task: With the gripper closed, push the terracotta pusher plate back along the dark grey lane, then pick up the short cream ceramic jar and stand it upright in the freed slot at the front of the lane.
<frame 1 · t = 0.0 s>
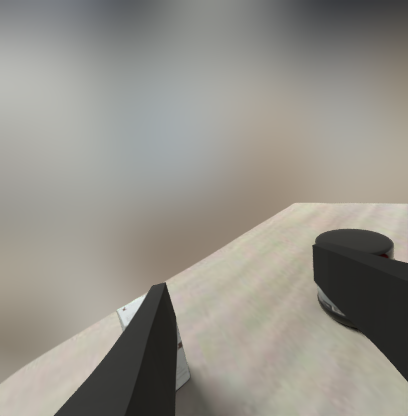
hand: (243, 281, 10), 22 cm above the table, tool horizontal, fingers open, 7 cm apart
skincare box: (166, 381, 28), on the table
supplement container: (354, 308, 33), on the table
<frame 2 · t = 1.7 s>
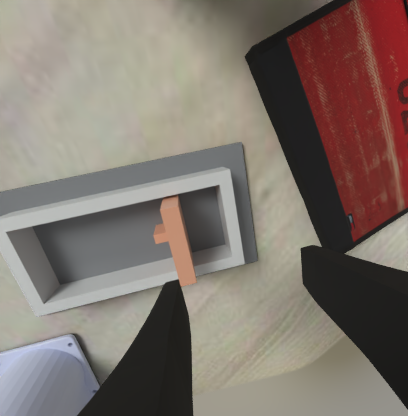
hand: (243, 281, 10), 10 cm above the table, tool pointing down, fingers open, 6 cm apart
pusher: (170, 236, 16), point 3 cm above the table, slide at 0.0 cm
binder: (356, 128, 20), on the table
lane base: (136, 231, 19), on the table
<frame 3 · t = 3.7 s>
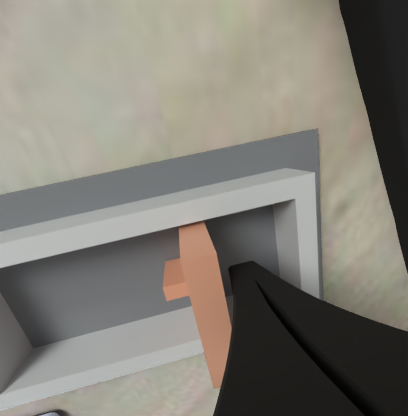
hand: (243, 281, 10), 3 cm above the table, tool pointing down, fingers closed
pusher: (191, 289, 10), point 3 cm above the table, slide at 0.9 cm, touching gripper
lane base: (149, 267, 12), on the table
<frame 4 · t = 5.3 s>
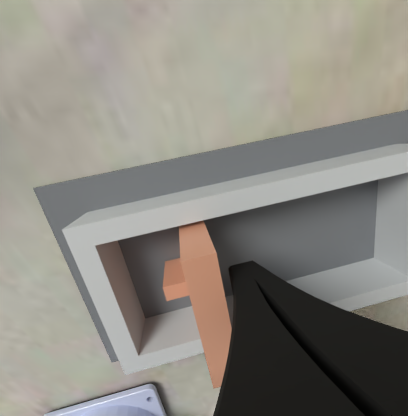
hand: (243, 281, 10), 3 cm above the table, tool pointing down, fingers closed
pusher: (191, 288, 10), point 3 cm above the table, slide at 7.8 cm, touching gripper
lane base: (256, 240, 13), on the table
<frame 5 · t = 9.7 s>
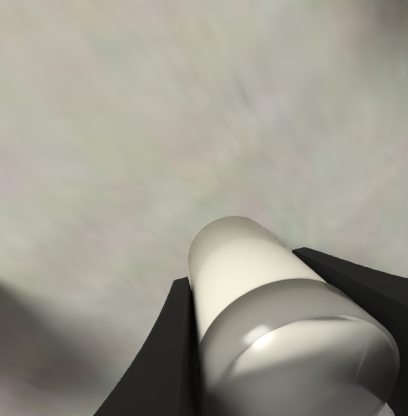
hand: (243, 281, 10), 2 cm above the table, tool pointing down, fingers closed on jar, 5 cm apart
jar: (231, 257, 12), on the table, touching gripper
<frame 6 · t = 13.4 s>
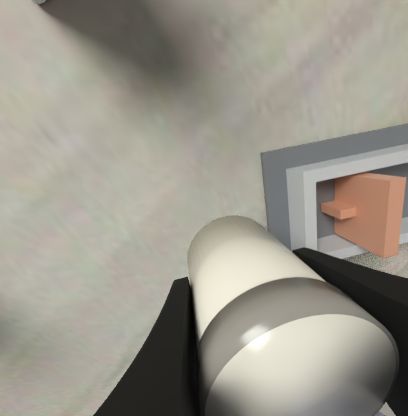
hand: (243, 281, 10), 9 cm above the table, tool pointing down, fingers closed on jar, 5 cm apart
jar: (230, 256, 12), point 7 cm above the table, touching gripper
pusher: (355, 212, 17), point 3 cm above the table, slide at 7.9 cm
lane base: (372, 193, 20), on the table
when the fingers open (4 cm above the table, at t = 17.1 s): jar stays where it is, resting on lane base.
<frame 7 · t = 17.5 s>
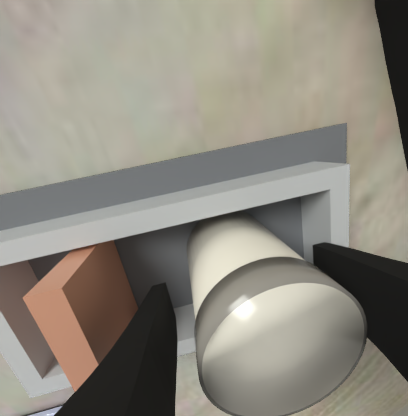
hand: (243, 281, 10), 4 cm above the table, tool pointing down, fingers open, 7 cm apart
jar: (227, 248, 13), resting on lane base
pusher: (86, 313, 10), point 3 cm above the table, slide at 7.9 cm
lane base: (179, 258, 13), on the table
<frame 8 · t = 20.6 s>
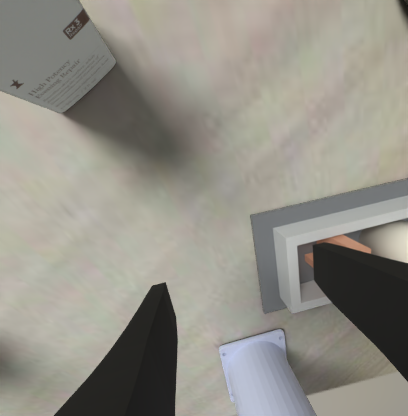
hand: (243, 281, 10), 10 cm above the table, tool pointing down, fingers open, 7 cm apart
jar: (379, 237, 22), resting on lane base
pusher: (333, 267, 19), point 3 cm above the table, slide at 7.9 cm
skincare box: (68, 63, 15), on the table
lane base: (351, 242, 23), on the table
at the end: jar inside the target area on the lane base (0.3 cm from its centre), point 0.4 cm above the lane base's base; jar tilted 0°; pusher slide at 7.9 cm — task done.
